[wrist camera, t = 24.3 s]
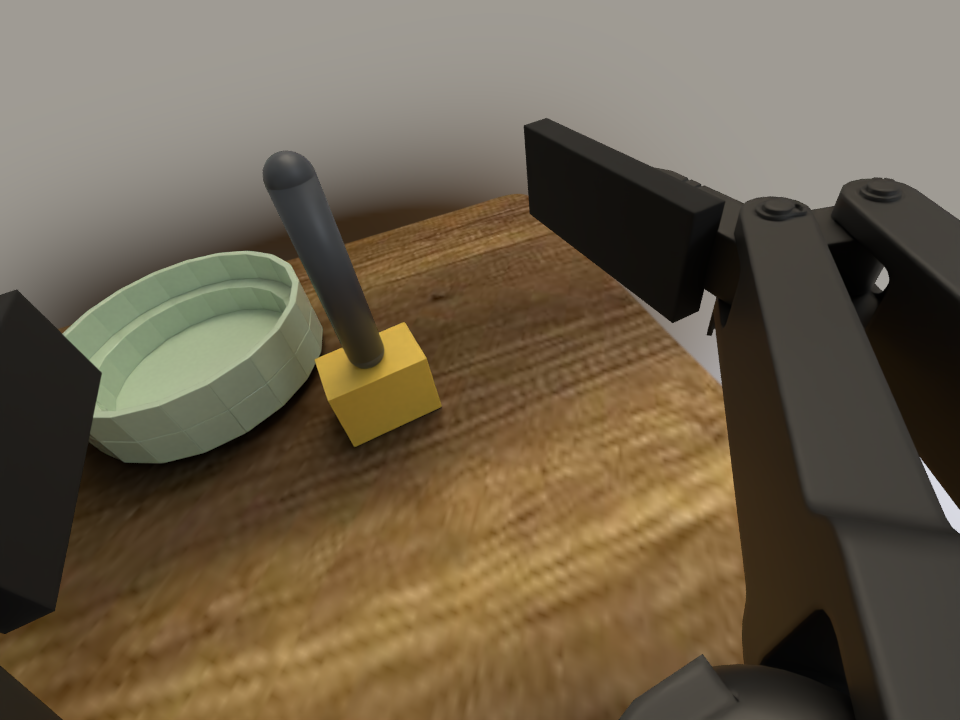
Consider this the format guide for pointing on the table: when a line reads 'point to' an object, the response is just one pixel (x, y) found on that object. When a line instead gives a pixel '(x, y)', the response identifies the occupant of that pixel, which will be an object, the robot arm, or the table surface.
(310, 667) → the table surface
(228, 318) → the bowl
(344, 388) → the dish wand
